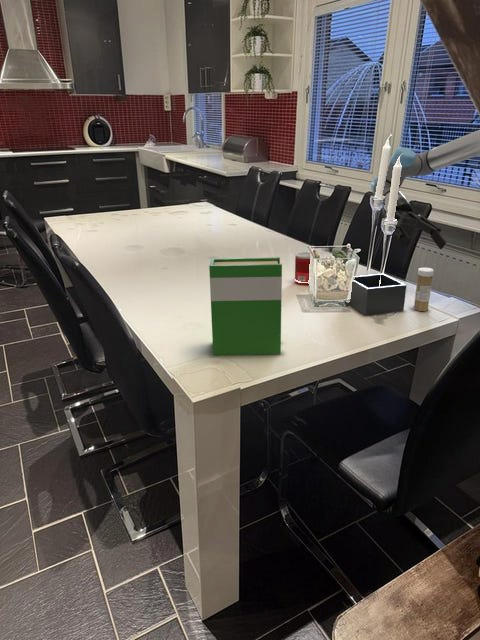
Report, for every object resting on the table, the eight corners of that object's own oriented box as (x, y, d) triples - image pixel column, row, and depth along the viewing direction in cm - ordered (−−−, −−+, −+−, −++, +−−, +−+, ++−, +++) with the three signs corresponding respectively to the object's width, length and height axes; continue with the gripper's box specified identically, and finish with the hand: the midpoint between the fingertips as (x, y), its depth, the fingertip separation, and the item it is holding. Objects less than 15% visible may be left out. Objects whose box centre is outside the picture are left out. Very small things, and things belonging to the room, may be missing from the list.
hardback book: (278, 342, 129) (279, 257, 120) (280, 354, 122) (281, 264, 113) (214, 343, 129) (211, 258, 120) (213, 355, 122) (209, 266, 113)
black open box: (403, 311, 149) (406, 284, 146) (365, 315, 146) (367, 289, 143) (380, 298, 162) (383, 273, 158) (345, 302, 158) (346, 277, 155)
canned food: (318, 284, 177) (319, 256, 173) (298, 286, 176) (299, 257, 172) (311, 278, 184) (312, 251, 180) (292, 280, 183) (292, 253, 179)
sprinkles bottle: (413, 306, 153) (418, 266, 148) (428, 307, 152) (433, 267, 147) (413, 311, 149) (418, 270, 144) (428, 312, 148) (434, 271, 143)
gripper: (421, 218, 169) (450, 255, 155) (361, 212, 161) (387, 251, 147) (432, 200, 164) (463, 237, 150) (371, 193, 156) (398, 231, 142)
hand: (425, 244), depth 148 cm, fingers open, 13 cm apart
